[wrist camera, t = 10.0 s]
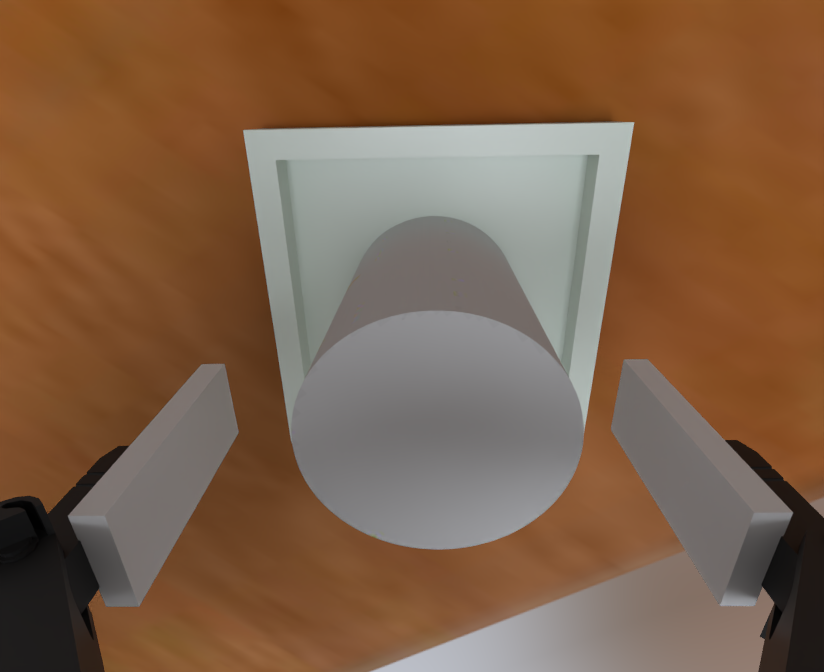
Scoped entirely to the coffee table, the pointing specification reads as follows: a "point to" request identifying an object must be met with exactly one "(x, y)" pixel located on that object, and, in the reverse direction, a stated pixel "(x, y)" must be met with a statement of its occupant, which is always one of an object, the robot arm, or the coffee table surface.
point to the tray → (440, 196)
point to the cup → (436, 396)
